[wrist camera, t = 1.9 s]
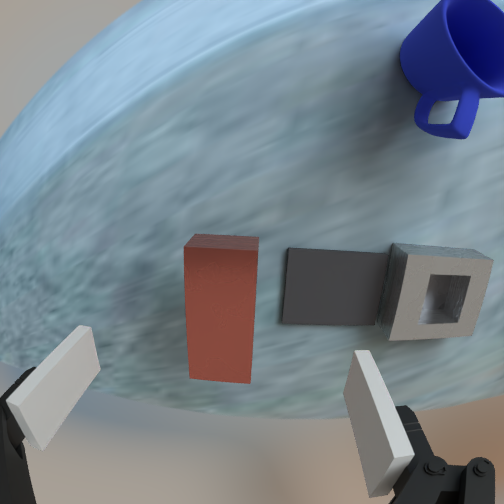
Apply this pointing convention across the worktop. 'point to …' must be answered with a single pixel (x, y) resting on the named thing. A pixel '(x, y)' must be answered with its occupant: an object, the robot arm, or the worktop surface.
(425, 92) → the mug
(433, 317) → the block
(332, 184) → the worktop surface
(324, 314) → the mat
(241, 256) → the key
